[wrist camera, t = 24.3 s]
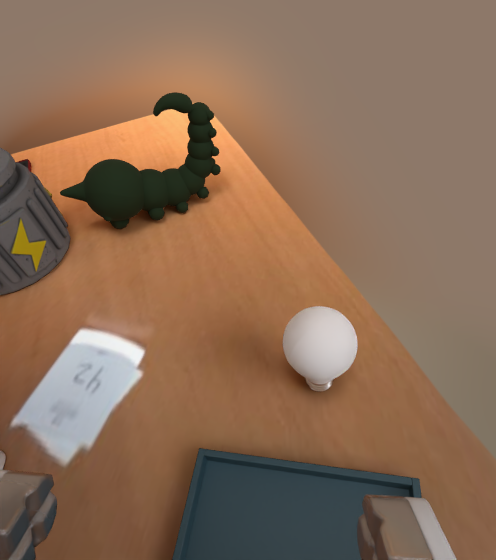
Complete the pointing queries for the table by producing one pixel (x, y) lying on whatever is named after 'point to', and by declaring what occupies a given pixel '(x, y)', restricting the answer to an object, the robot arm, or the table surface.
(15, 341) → the table surface
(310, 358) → the light bulb
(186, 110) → the toy figurine
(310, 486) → the tray
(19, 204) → the decorative lamp
